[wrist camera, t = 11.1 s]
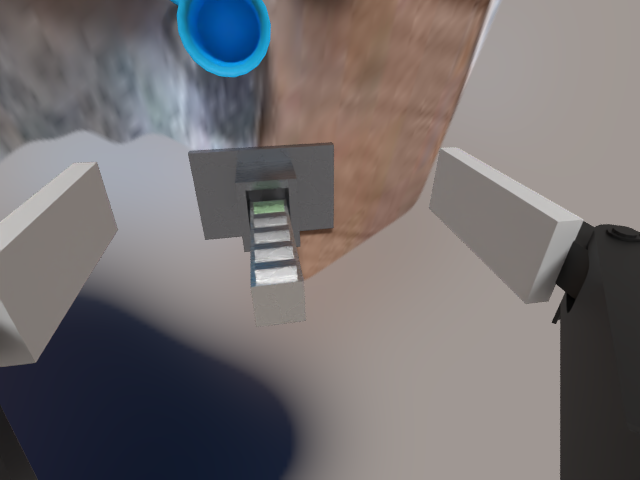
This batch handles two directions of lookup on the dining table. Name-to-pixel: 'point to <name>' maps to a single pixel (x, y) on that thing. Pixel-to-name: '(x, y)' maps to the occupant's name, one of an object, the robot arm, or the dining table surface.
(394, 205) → the dining table surface
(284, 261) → the column
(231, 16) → the mug
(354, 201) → the dining table surface
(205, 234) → the stand
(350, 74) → the dining table surface
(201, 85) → the dining table surface
